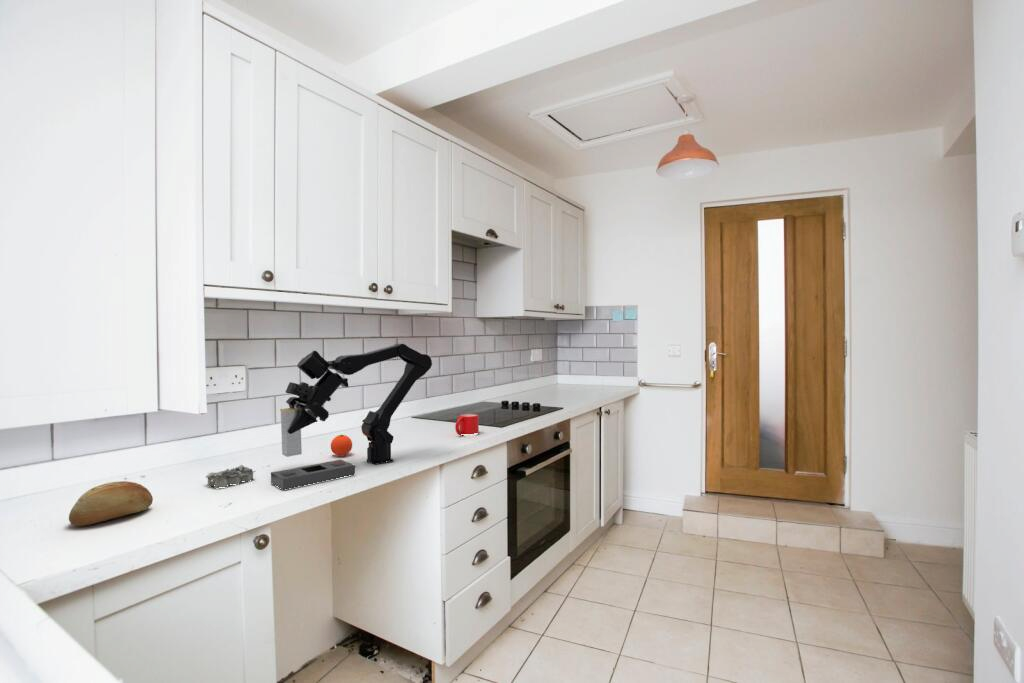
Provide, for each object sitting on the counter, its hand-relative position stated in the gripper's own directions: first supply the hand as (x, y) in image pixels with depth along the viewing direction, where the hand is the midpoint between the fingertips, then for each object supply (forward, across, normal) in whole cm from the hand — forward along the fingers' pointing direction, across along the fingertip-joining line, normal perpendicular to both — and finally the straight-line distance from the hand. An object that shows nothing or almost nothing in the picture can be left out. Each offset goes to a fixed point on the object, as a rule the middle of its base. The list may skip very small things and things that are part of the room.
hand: (286, 432), depth 141 cm
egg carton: (+19, -6, 0) cm, 20 cm away
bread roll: (+37, +6, -19) cm, 41 cm away
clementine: (-6, -15, +26) cm, 30 cm away
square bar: (+4, 0, +6) cm, 7 cm away
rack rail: (+6, +7, +13) cm, 16 cm away
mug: (-42, -12, +62) cm, 76 cm away
